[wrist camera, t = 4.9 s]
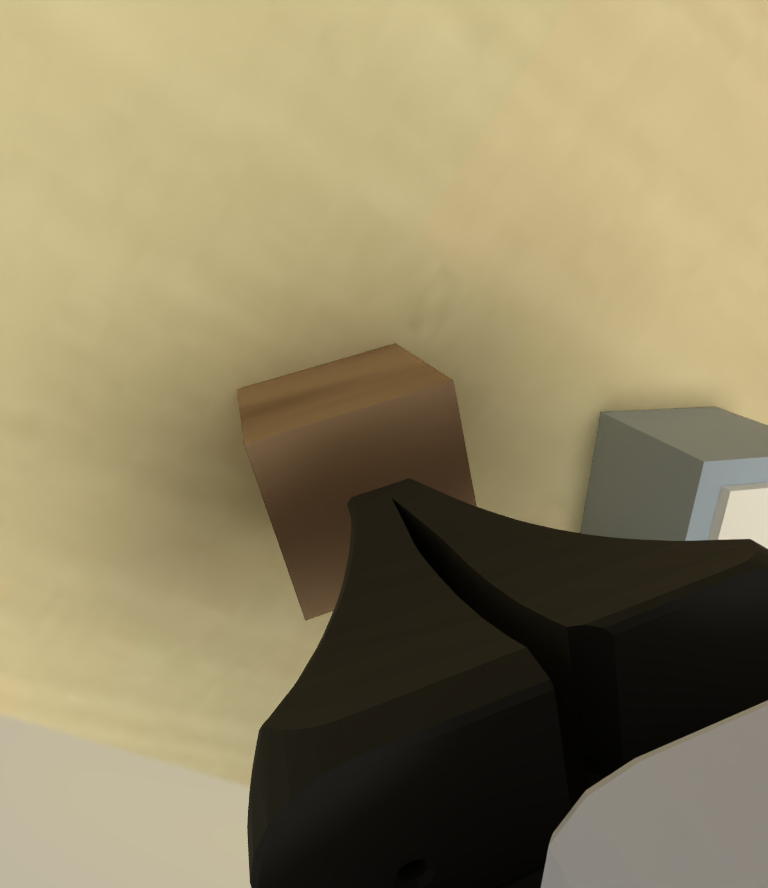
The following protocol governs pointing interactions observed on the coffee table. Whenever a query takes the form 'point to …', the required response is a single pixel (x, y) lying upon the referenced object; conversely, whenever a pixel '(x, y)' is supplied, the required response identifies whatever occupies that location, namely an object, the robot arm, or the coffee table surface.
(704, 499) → the labelled block
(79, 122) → the coffee table surface
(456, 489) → the plain walnut block
